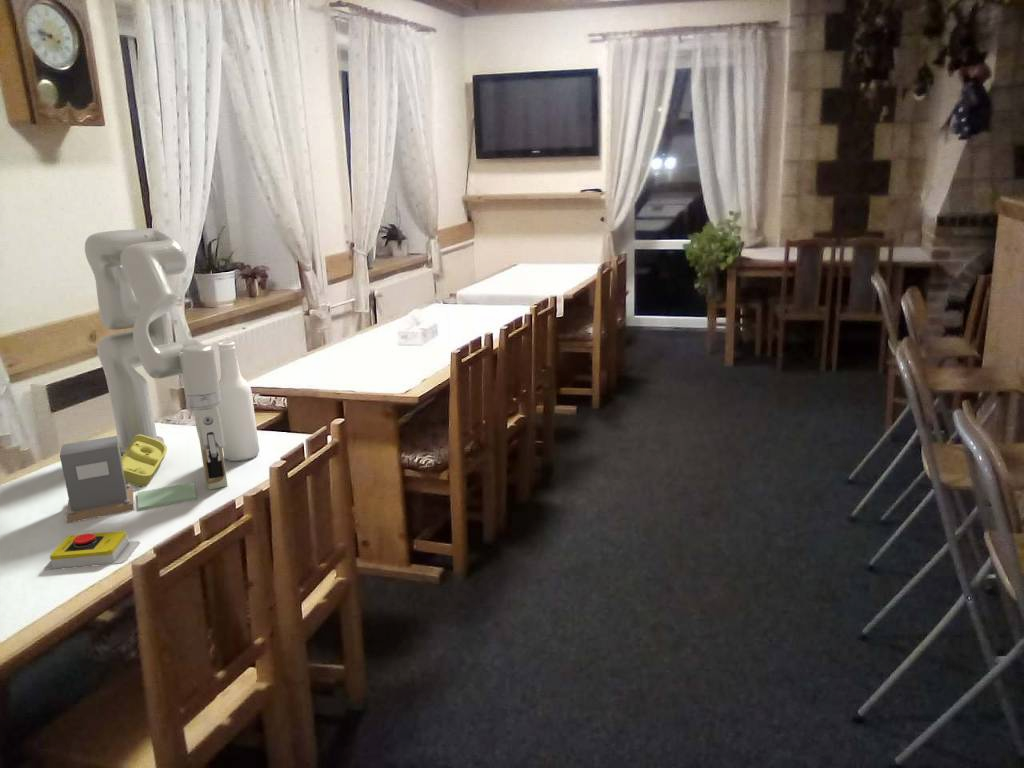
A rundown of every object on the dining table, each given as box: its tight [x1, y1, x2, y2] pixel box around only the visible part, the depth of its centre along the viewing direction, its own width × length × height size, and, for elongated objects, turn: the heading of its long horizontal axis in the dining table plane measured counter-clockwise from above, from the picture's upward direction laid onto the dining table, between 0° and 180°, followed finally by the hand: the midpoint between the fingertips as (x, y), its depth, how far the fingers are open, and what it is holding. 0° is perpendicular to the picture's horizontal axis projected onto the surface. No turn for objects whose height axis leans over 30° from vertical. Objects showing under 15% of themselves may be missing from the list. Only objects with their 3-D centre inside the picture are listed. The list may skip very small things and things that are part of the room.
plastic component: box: [121, 434, 168, 487], centre depth 196 cm, size 20×7×10 cm
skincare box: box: [199, 436, 228, 491], centre depth 186 cm, size 6×4×12 cm
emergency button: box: [43, 530, 141, 571], centre depth 154 cm, size 9×4×15 cm
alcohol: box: [217, 340, 260, 462], centre depth 202 cm, size 9×9×30 cm
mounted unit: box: [59, 435, 135, 524], centre depth 176 cm, size 12×13×14 cm
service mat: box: [137, 481, 197, 511], centre depth 181 cm, size 10×12×1 cm
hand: (214, 471), depth 187 cm, fingers closed on skincare box, 6 cm apart
